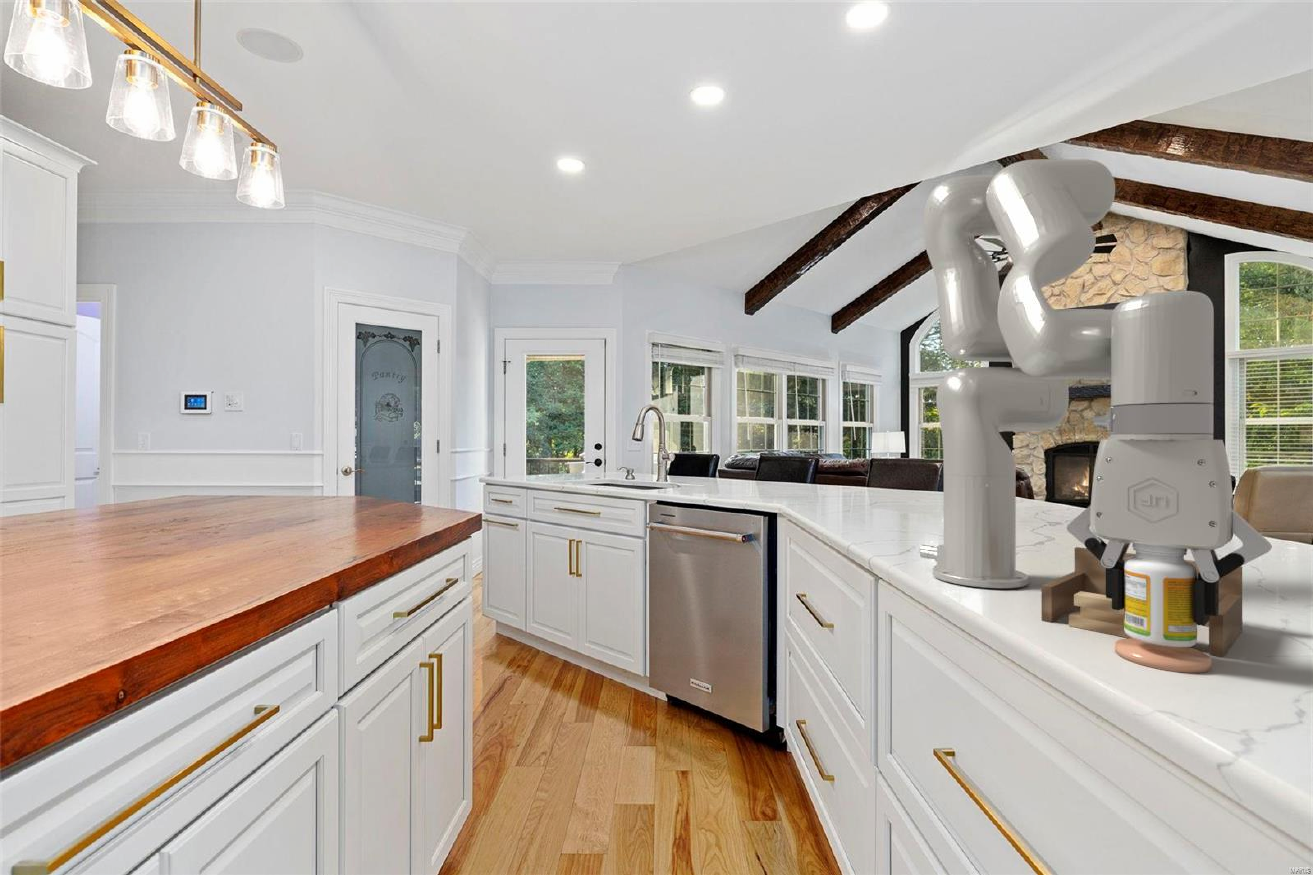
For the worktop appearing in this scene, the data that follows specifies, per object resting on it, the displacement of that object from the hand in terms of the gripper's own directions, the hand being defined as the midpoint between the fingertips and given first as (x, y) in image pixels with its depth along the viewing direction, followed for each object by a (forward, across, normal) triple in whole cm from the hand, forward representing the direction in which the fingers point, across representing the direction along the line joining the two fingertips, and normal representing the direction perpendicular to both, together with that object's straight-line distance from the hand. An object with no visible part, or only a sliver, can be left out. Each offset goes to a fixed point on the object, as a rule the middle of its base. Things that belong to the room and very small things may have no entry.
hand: (1159, 612), depth 58 cm
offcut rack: (+4, -4, +11) cm, 12 cm away
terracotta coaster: (+4, 0, 0) cm, 4 cm away
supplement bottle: (+3, 0, 0) cm, 3 cm away
